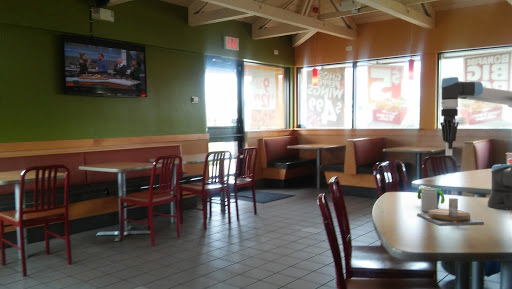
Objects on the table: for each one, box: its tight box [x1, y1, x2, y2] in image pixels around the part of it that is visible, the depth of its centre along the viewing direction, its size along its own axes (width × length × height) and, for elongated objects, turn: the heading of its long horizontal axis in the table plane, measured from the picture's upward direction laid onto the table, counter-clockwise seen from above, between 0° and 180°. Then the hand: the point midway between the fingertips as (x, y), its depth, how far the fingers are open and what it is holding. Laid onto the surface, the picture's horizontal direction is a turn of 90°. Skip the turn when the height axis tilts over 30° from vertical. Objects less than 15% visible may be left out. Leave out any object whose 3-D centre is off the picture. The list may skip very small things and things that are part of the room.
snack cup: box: [417, 186, 446, 208], centre depth 228 cm, size 16×10×10 cm
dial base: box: [416, 212, 485, 226], centre depth 199 cm, size 21×21×1 cm
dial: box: [427, 197, 471, 221], centre depth 198 cm, size 19×18×10 cm
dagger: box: [418, 184, 432, 196], centre depth 256 cm, size 8×6×28 cm
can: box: [420, 187, 438, 213], centre depth 218 cm, size 8×8×12 cm
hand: (448, 155), depth 211 cm, fingers closed
